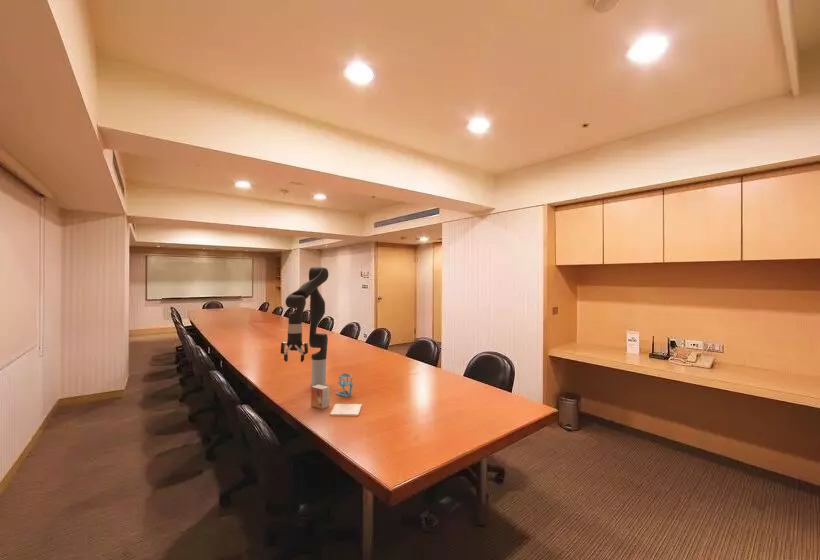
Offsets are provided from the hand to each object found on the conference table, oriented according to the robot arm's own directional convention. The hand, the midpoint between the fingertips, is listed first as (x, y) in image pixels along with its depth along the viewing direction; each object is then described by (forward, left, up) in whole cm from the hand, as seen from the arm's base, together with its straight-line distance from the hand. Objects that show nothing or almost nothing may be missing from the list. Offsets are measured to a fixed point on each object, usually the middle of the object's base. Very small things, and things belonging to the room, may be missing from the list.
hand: (294, 361), depth 185 cm
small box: (+5, +16, -23) cm, 28 cm away
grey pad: (+10, +31, -22) cm, 39 cm away
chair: (-14, +26, -23) cm, 37 cm away
